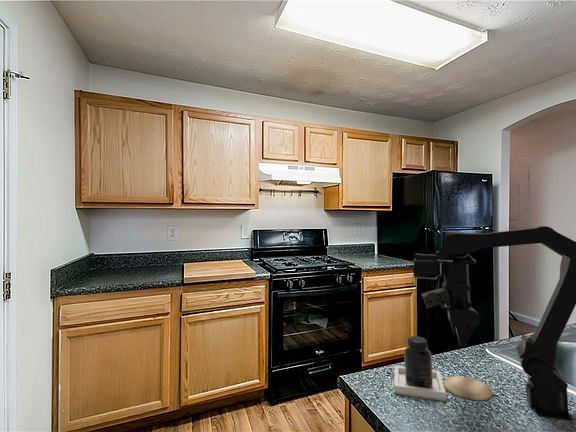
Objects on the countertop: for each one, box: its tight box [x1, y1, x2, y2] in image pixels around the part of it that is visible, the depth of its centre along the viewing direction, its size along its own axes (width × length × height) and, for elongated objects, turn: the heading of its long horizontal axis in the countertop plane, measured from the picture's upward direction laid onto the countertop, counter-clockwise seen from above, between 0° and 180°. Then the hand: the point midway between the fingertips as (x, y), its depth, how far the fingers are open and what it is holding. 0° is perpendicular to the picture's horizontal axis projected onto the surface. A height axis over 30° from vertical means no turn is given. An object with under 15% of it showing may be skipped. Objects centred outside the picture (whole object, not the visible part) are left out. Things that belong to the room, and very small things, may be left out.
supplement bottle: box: [403, 335, 433, 389], centre depth 82 cm, size 7×7×12 cm
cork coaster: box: [443, 375, 493, 401], centre depth 80 cm, size 11×11×1 cm
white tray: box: [393, 365, 447, 402], centre depth 82 cm, size 12×12×2 cm
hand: (459, 340), depth 79 cm, fingers open, 9 cm apart
